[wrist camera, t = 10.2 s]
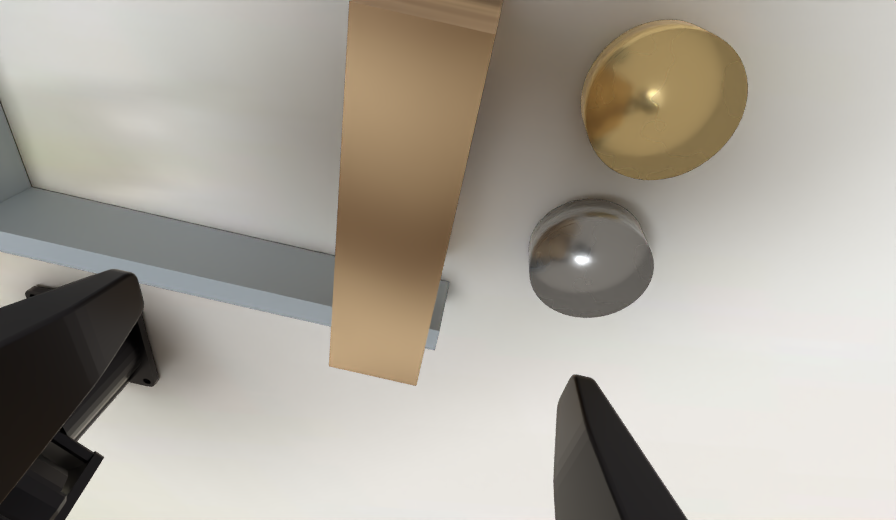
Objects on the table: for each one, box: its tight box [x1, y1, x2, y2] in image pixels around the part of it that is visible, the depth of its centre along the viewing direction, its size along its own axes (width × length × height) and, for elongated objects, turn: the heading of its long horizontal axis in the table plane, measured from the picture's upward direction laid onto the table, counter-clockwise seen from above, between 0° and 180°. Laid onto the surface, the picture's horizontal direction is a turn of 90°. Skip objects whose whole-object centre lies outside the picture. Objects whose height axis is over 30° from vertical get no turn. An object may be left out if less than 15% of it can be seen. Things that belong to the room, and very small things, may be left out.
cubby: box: [0, 104, 449, 350], centre depth 18 cm, size 16×22×4 cm
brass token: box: [581, 20, 748, 180], centre depth 16 cm, size 5×5×2 cm
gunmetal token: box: [529, 199, 654, 318], centre depth 20 cm, size 5×5×2 cm
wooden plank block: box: [329, 0, 503, 386], centre depth 16 cm, size 11×3×8 cm, turn 170°
